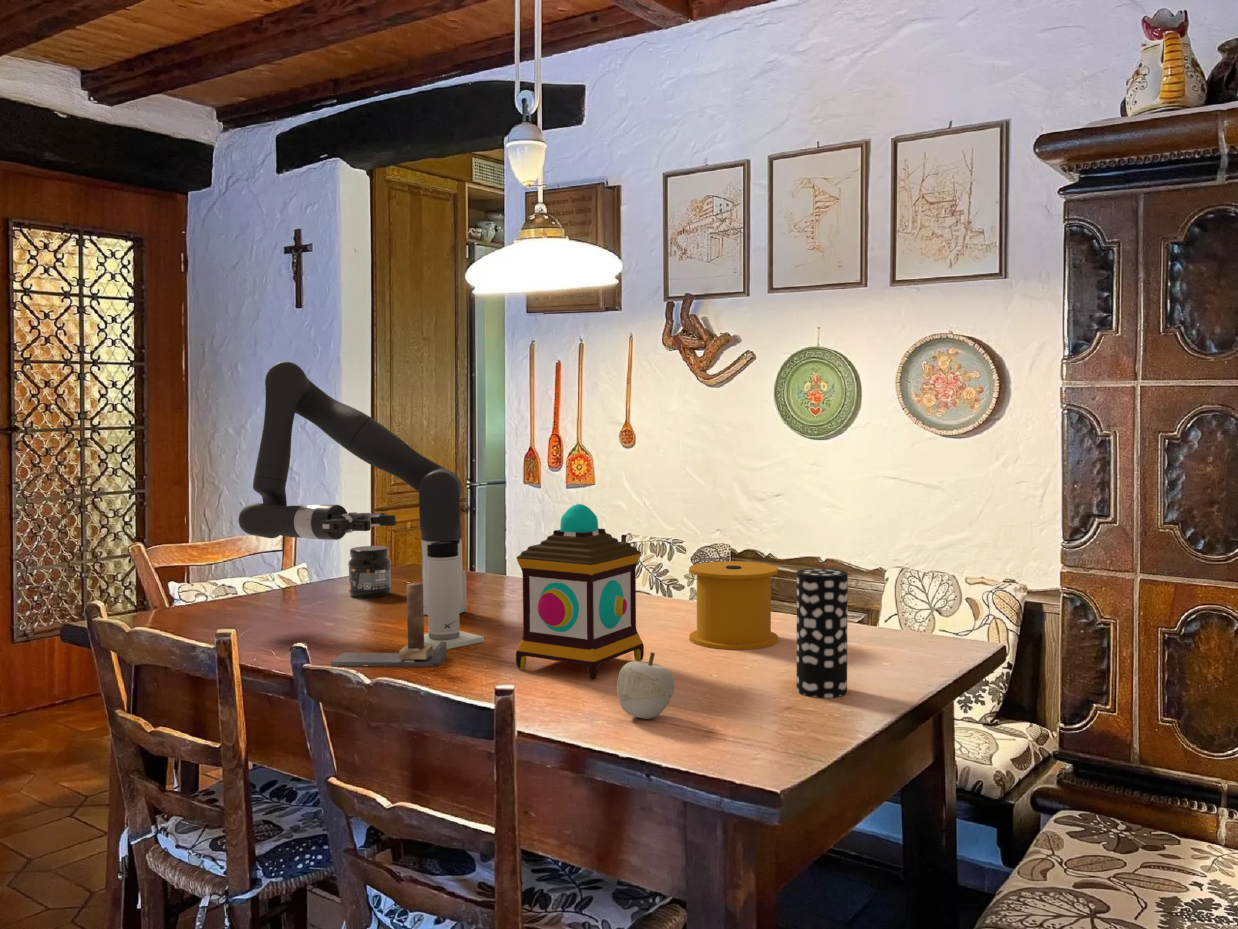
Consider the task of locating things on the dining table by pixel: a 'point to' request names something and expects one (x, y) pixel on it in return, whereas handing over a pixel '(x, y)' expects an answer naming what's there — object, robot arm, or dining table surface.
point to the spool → (733, 605)
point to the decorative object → (644, 688)
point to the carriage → (415, 625)
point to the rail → (392, 659)
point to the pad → (455, 640)
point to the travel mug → (443, 590)
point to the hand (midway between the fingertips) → (382, 523)
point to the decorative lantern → (579, 595)
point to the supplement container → (369, 571)
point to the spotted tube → (822, 632)
